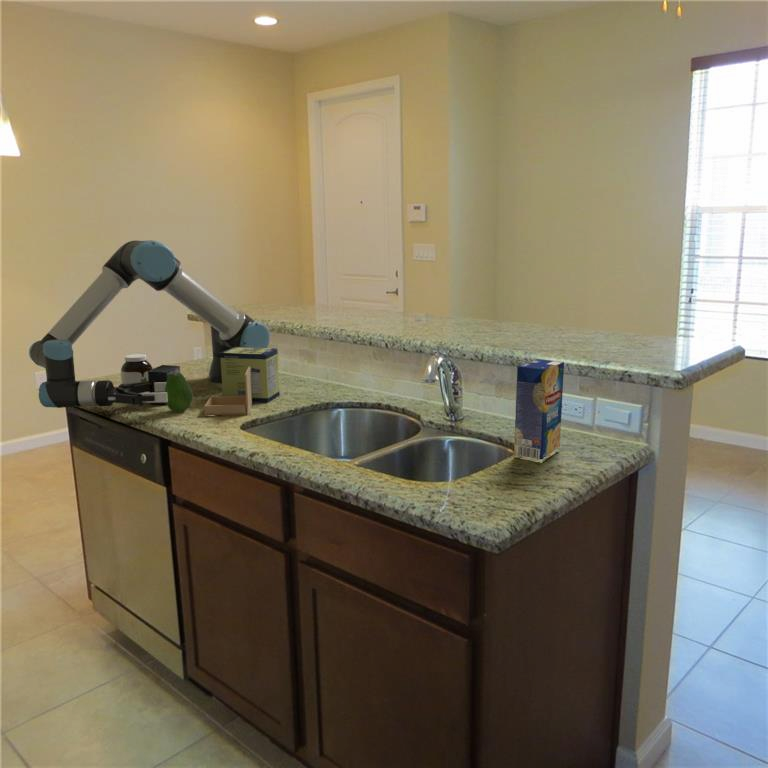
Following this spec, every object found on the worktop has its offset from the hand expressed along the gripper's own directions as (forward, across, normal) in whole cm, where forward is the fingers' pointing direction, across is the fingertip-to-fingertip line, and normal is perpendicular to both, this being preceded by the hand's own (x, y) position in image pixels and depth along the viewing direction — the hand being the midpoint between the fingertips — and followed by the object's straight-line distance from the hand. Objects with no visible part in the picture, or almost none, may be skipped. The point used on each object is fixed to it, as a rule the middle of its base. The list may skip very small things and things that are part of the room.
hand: (172, 391), depth 206 cm
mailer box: (+16, 0, -6) cm, 17 cm away
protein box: (+21, -16, -7) cm, 27 cm away
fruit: (+2, 0, -6) cm, 7 cm away
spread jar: (-18, -34, -7) cm, 39 cm away
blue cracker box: (+94, +49, -6) cm, 107 cm away
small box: (-5, -15, -6) cm, 17 cm away
